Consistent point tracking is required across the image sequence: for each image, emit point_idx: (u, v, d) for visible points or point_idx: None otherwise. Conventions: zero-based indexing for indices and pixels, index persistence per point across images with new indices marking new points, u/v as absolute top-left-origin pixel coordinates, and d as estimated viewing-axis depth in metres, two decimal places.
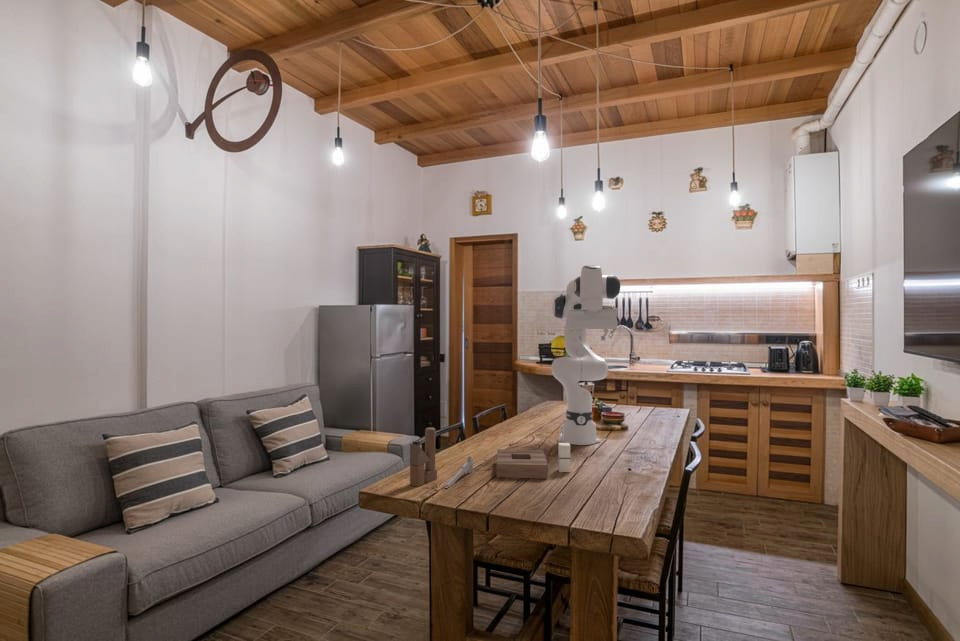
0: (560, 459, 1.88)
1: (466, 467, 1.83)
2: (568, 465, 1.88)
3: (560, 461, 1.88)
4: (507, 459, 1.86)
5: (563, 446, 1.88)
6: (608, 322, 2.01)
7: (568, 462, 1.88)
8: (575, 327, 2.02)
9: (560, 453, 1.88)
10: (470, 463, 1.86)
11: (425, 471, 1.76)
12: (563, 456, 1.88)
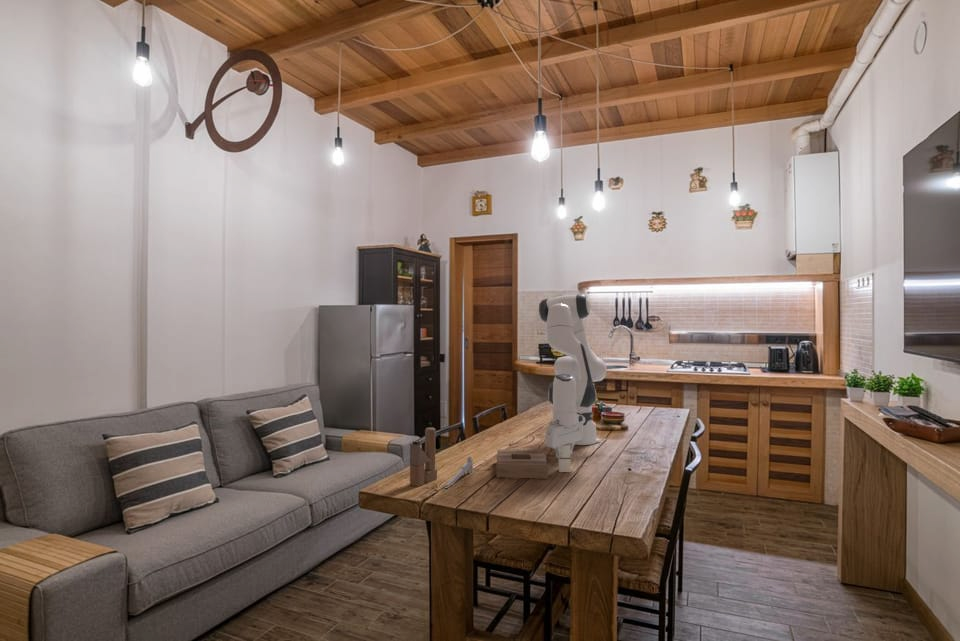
0: (560, 459, 1.88)
1: (466, 467, 1.83)
2: (568, 465, 1.88)
3: (560, 461, 1.88)
4: (507, 459, 1.86)
5: (563, 446, 1.88)
6: None
7: (568, 462, 1.88)
8: None
9: None
10: (470, 463, 1.86)
11: (425, 471, 1.76)
12: (563, 456, 1.88)
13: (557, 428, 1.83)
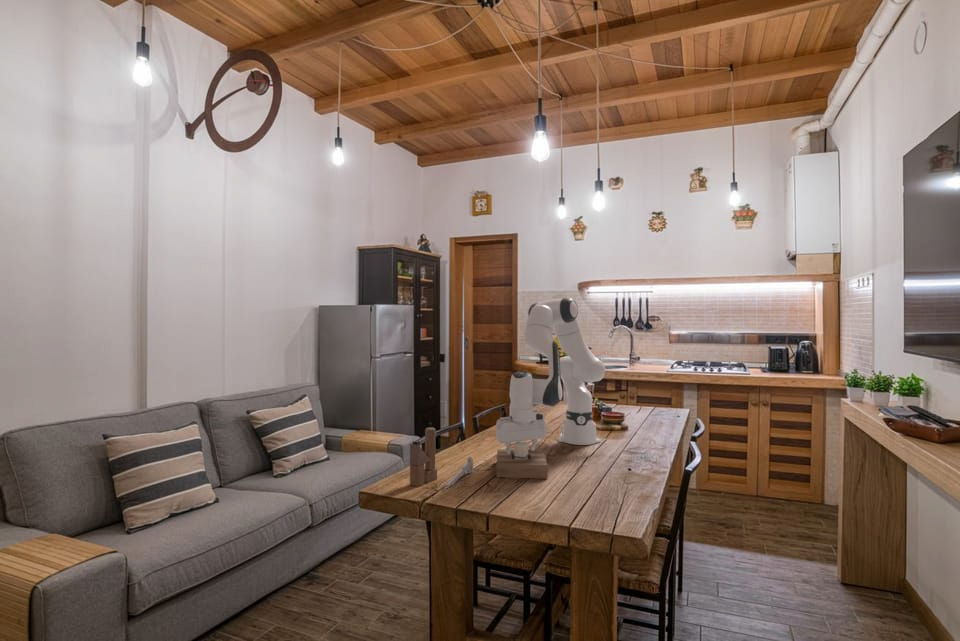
0: (515, 458, 1.89)
1: (466, 467, 1.82)
2: None
3: None
4: (507, 459, 1.86)
5: (518, 445, 1.89)
6: None
7: None
8: None
9: (515, 452, 1.89)
10: (470, 463, 1.86)
11: (425, 471, 1.76)
12: (518, 455, 1.89)
13: (506, 424, 1.86)
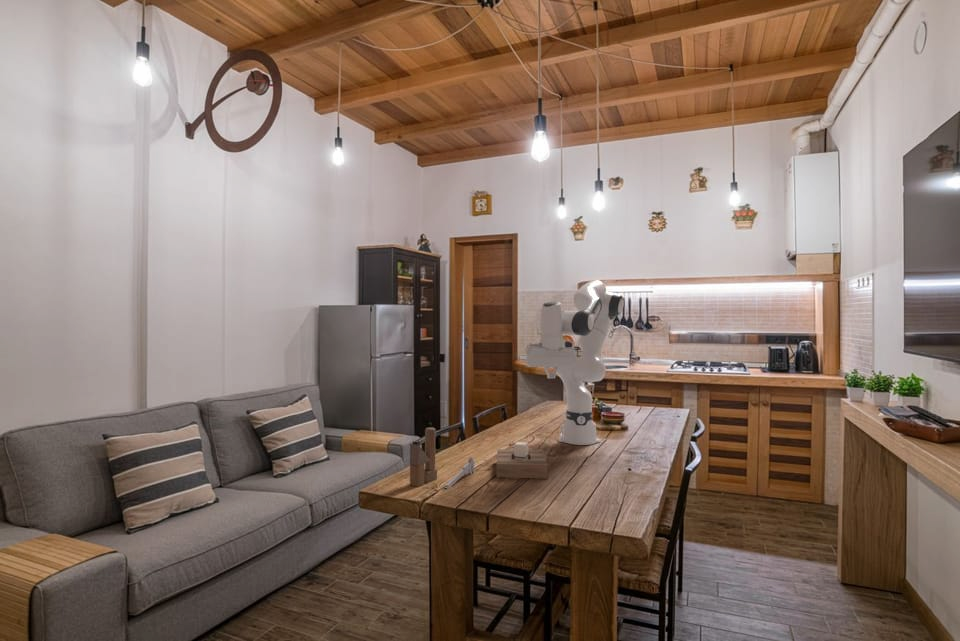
0: (515, 458, 1.89)
1: (467, 468, 1.82)
2: None
3: None
4: (507, 459, 1.86)
5: (518, 445, 1.89)
6: None
7: None
8: None
9: (515, 452, 1.89)
10: (471, 464, 1.85)
11: (425, 471, 1.76)
12: (518, 455, 1.89)
13: (535, 349, 1.97)
